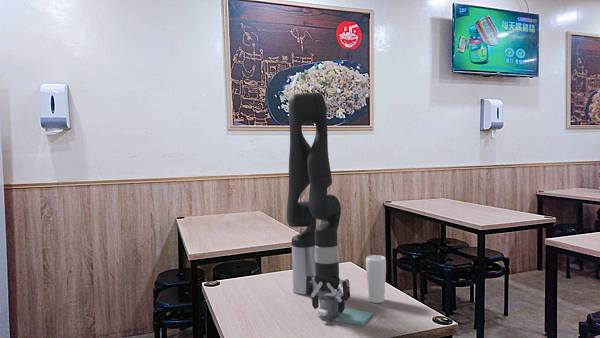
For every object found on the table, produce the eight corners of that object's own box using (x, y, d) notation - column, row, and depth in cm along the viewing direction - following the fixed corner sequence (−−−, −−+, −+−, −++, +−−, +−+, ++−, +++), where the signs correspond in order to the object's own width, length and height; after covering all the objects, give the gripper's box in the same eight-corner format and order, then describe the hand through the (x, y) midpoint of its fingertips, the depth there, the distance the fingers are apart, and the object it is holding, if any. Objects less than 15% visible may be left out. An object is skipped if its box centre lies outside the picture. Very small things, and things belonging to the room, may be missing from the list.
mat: (346, 309, 134) (346, 308, 134) (372, 314, 130) (372, 312, 130) (335, 320, 126) (335, 318, 126) (363, 326, 122) (363, 324, 122)
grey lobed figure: (328, 310, 134) (327, 292, 134) (340, 312, 132) (340, 294, 132) (315, 321, 126) (314, 302, 125) (328, 324, 124) (328, 304, 123)
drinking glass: (390, 300, 141) (389, 257, 140) (379, 306, 136) (378, 261, 135) (373, 295, 146) (372, 254, 145) (362, 301, 141) (361, 258, 140)
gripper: (352, 258, 128) (353, 309, 129) (312, 254, 135) (313, 302, 136) (342, 265, 122) (344, 318, 122) (300, 259, 129) (302, 310, 129)
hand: (328, 310), depth 129 cm, fingers open, 8 cm apart
